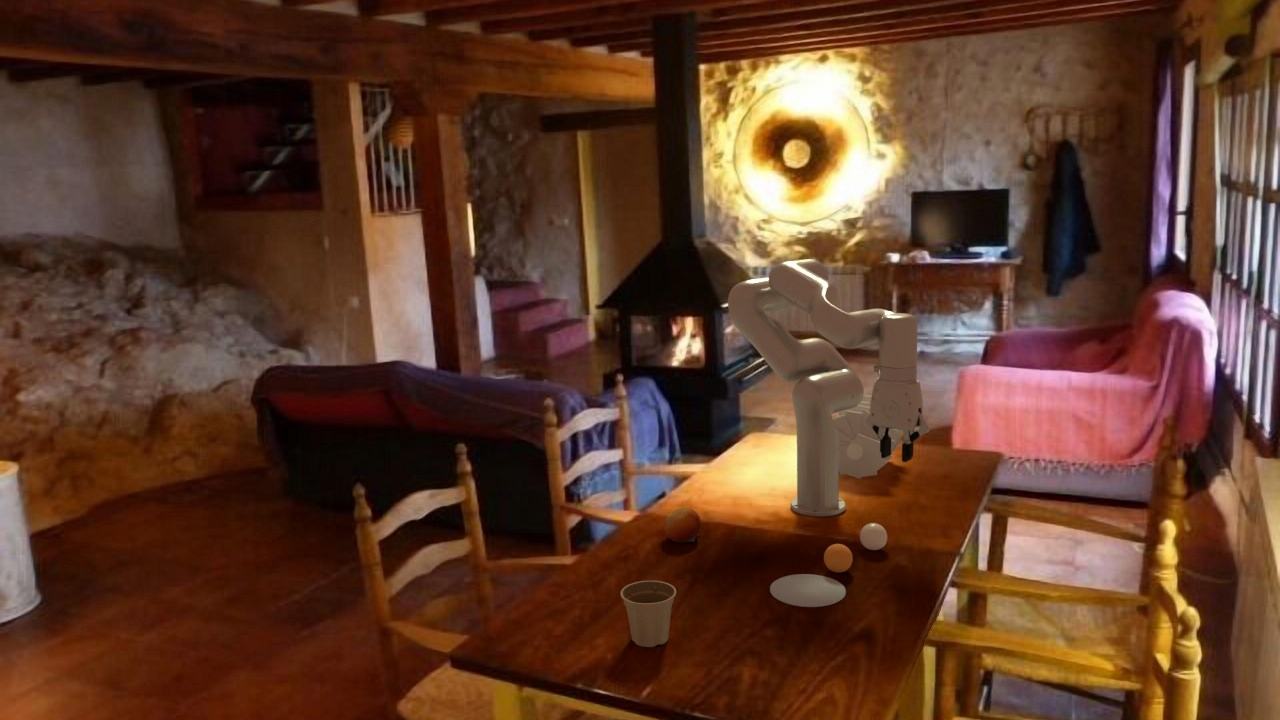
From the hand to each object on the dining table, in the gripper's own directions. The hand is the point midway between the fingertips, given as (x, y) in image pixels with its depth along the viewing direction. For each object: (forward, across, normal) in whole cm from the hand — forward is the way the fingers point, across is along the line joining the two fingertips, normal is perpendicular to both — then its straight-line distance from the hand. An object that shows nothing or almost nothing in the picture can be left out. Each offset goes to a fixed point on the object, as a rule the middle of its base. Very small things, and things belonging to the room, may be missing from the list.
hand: (896, 457), depth 201 cm
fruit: (+18, -35, -29) cm, 49 cm away
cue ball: (+15, 0, -10) cm, 17 cm away
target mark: (+17, 0, -34) cm, 39 cm away
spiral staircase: (+18, -29, +38) cm, 51 cm away
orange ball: (+15, 0, -24) cm, 28 cm away
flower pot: (+18, -11, -67) cm, 70 cm away
